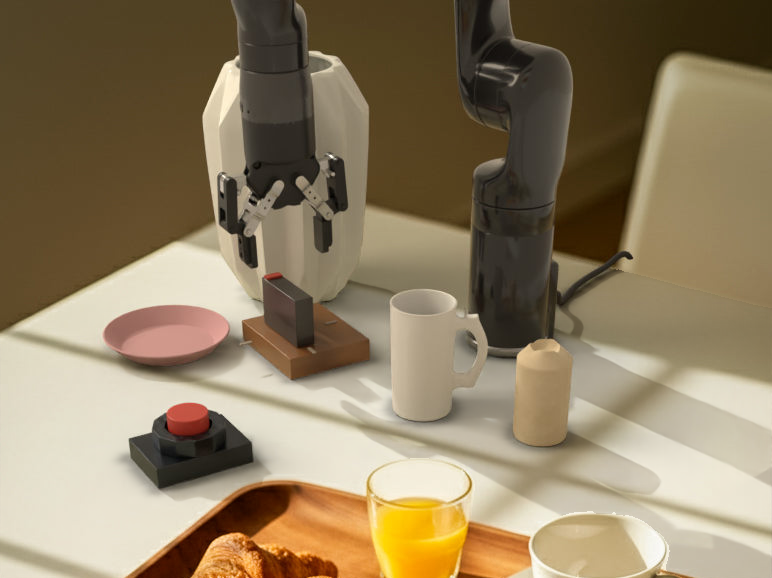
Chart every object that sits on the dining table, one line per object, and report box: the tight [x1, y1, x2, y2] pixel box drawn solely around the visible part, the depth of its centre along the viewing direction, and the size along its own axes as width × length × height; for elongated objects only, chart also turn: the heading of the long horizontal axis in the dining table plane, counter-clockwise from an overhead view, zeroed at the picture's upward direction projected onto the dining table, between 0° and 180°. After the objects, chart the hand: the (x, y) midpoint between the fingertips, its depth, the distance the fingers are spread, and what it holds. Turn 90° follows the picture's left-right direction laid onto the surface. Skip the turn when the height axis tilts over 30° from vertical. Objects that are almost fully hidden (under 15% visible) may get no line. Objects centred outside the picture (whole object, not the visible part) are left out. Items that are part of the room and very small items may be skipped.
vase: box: [202, 50, 370, 304], centre depth 161 cm, size 20×20×28 cm
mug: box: [389, 288, 488, 422], centre depth 139 cm, size 10×7×12 cm, turn 84°
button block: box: [128, 409, 254, 490], centre depth 132 cm, size 10×7×4 cm
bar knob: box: [262, 272, 314, 348], centre depth 150 cm, size 8×2×6 cm, turn 32°
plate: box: [102, 304, 231, 367], centre depth 154 cm, size 14×14×2 cm
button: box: [166, 402, 210, 436], centre depth 130 cm, size 4×4×2 cm
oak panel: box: [239, 302, 371, 381], centre depth 152 cm, size 13×12×3 cm
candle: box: [512, 339, 574, 447], centre depth 135 cm, size 6×6×10 cm
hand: (287, 258), depth 148 cm, fingers open, 8 cm apart
